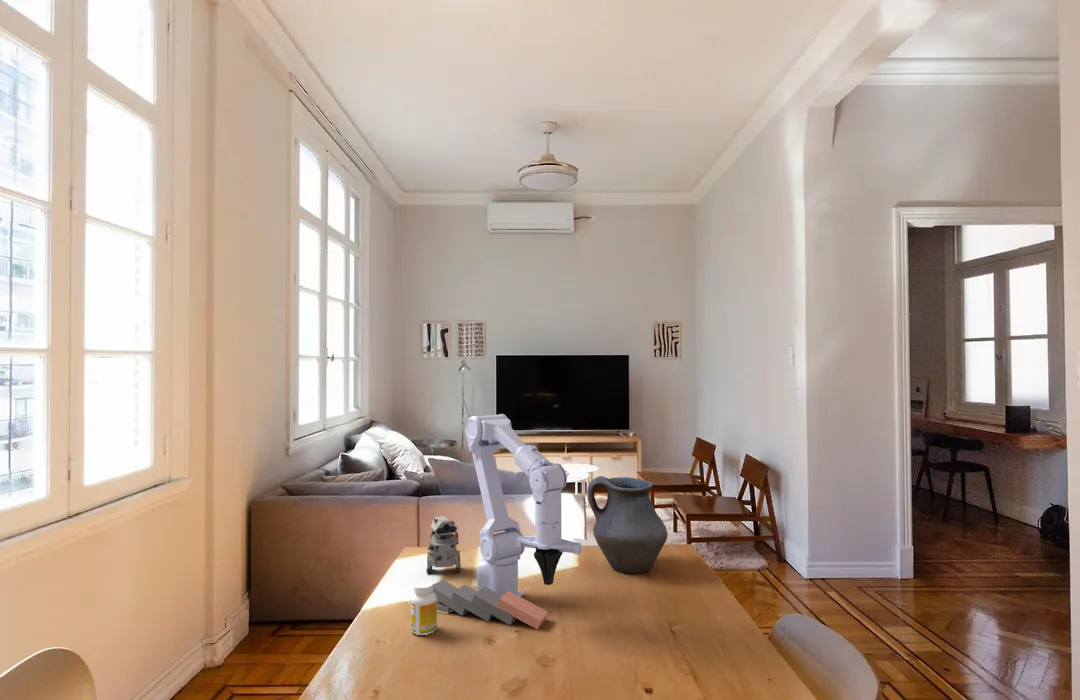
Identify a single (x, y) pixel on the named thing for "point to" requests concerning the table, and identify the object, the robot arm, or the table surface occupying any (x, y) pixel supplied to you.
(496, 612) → the domino
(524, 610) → the red domino
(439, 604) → the domino
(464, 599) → the domino
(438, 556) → the figurine
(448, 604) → the domino
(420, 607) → the supplement bottle
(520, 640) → the table surface
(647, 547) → the pitcher
